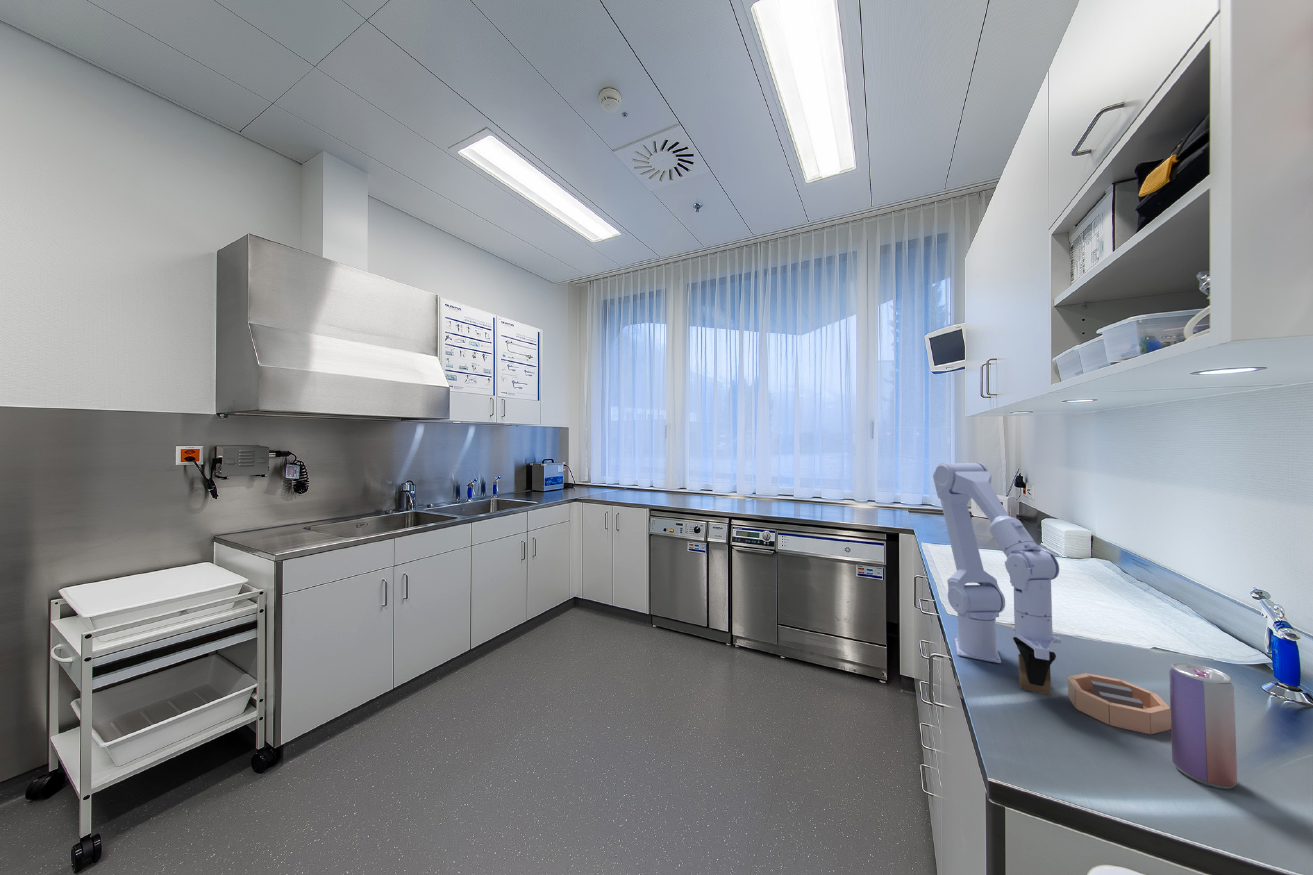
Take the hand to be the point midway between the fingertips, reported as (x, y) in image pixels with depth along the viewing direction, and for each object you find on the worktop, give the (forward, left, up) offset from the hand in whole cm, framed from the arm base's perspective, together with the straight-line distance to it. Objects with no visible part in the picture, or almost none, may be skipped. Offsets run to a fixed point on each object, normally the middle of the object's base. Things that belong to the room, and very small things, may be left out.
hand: (1034, 681), depth 87 cm
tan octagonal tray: (+2, +11, -2) cm, 11 cm away
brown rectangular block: (0, 0, -2) cm, 2 cm away
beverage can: (+17, +16, -2) cm, 23 cm away
